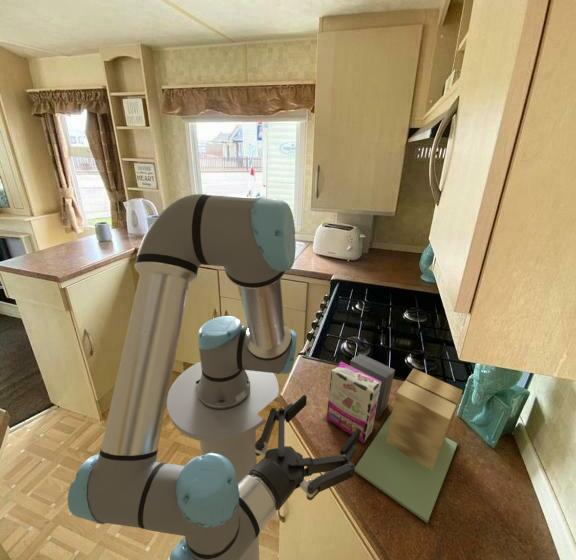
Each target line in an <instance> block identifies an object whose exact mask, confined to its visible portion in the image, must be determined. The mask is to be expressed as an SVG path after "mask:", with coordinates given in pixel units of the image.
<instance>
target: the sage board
mask: <svg viewBox="0 0 576 560" xmlns="http://www.w3.org/2000/svg"><path fill="white" fill-rule="evenodd" d="M392 412H393V410H392ZM392 412H391V413H390V415H388V416H387V419H386V420H385V422H384V423H383V425H382V426H381V428H380V429H379V430H378V432H377V434H376V435H375V436H374V439H373V440H372V441H371V443H370V444H369V446H368V447H367V449H366V450H365V451H364V453H363V455H362V456H361V458H360V459H359V460H358V462H357V464H355V470H354V473H356V474H357V475H359V476H360V477H362V478H363V479H365V480H366V481H367V482H369V483H370V484H372V486H374V487H376V488H377V489H378V490H379V491H381V492H383V493H384V494H385V495H387V496H388V497H390V498H391V499H392V500H394V501H395V502H396V503H398V504H399V505H401V506H402V507H403V508H405V509H406V510H408V511H409V512H410V513H412V514H414V515H415V516H416V517H417V518H418V519H420V520H422V521H423V522H424V523H426V524H428V523H429V520H430V517H431V515H432V511H433V510H434V507H435V505H436V501H437V499H438V496H439V494H440V492H441V488H442V486H443V483H444V481H445V478H446V475H447V473H448V470H449V467H450V465H451V462H452V460H453V457H454V455H455V451H456V450H457V446H458V442H455V441H454V440H452V439H450V438H448V437H447V438H446V440H445V443H444V445H443V448H442V450H441V452H440V454H439V457H438V459H437V462H436V464H435V466H434V469H433V471H431V470H430V469H428V468H426V467H425V466H423V465H422V464H420V463H418V462H417V461H415V460H414V459H412V458H410V457H409V456H407V455H405V454H404V453H402V452H401V451H399V450H397V449H396V448H394V447H393V446H391V445H389V444H388V443H386V438H387V433H388V429H389V425H390V420H391V416H392Z"/></svg>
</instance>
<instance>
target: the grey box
mask: <svg viewBox="0 0 576 560" xmlns="http://www.w3.org/2000/svg"><path fill="white" fill-rule="evenodd" d="M349 366H351V367H353V368H355V369H357V370H359V371H361V372H363V373H365V374H367V375H369V376H371V377H373V378H375V379H377V380H379V381H381V387H380V392H379V398H378V403H377V409H376V414H375V419H377V420H379V419H380V417H381V416H382V414H383V413H384V412H385V410H386V409H387V407H388V405H389V400H390V399H389V398H390V395H391V390H392V387H393V380H394V377H395V372H396V369H394V368H392V367H389V366H388V365H386V364H384V363H382V362H379V361H378V360H375V359H373V358H371V357H369V356H367V355H365V354H362V353H359V354H358V355H357V356H356V355H355V356H354V357H352V359H351V360H350V364H349Z"/></svg>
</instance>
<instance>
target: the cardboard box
mask: <svg viewBox="0 0 576 560" xmlns="http://www.w3.org/2000/svg"><path fill="white" fill-rule="evenodd" d="M463 391H464V390H463V389H460V388H458V387H456V386H454V385H452V384H449V383H447V382H445V381H443V380H441V379H439V378H436V377H434V376H432V375H429V374H427V373H425V372H423V371H421V370H418V369H416V368H412V370H411V371H410V373H409V374H408V376H407V378H406V379H405V380H404V381H403V382H402V385H401V386H400V387H399V389H398V390H397V391H396V395H395V399H394V403H393V408H392V411H393V412H391V413H392V416H391V420H390V425H389V429H388V433H387V438H386V443H388V444H389V445H391V446H393V447H394V448H396V449H397V450H399V451H401V452H402V453H404V454H405V455H407V456H409V457H410V458H412V459H414V460H415V461H417V462H418V463H420V464H422V465H423V466H425V467H426V468H428V469H430V470H431V471H433V469H434V466H435V464H436V462H437V459H438V457H439V454H440V452H441V450H442V448H443V445H444V443H445V440H446V438H448V435H449V431H450V430H451V427H452V423H453V420H454V418H455V415H456V412H457V409H458V406H459V404H460V400H461V397H462V395H463Z"/></svg>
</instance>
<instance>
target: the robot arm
mask: <svg viewBox="0 0 576 560" xmlns="http://www.w3.org/2000/svg"><path fill="white" fill-rule="evenodd" d="M296 245H297V242H296V225H295V220H294V215H293V212H292V208H291V207H290V205H289V203H287V202H286V201H284V200H283V199H280V198H273V197H267V196H263V195H261V196H256V197H249V196H231V195H213V194H205V193H198V194H190V195H186V196H184V197H181V198H178V199H177V200H175V201H174V202H172V203H170V204H169V205H168V206H167V207H166V208H164V209H163V210H162V211H161V212H160V213H159V215H158V216H157V217H156V218H155V219H154V221H153V222H151V224H150V226H149V227H148V229H147V231H146V232H145V234H144V236H143V238H142V240H141V242H140V245H139V247H138V250H137V254H136V257H135V262H134V270H136V272H137V274H138V275H139V277H138V281H137V286H136V290H135V295H134V299H133V303H132V308H131V313H130V318H129V321H128V327H127V331H126V335H125V340H124V344H123V349H122V353H121V357H120V360H119V361H120V362H119V365H118V371H117V374H116V378H115V379H116V380H115V385H114V389H113V393H112V397H111V401H110V406H109V410H108V415H107V420H106V424H105V427H104V434H103V437H102V442H101V446H100V450H99V453H98V454H95V455H92V456H90V457H89V458H87V459H86V460H85V461H84V462H83V463H82V464H81V465H80V466H79V468H78V470H77V471H76V473H75V478H74V480H73V481H72V482H71V483H70V485H69V489H68V493H67V507H68V511H69V512H70V514H72V515H73V516H74V517H76V518H78V519H79V518H80V519H83V520H86V521H90V522H94V523H96V524H100V525H104V524H110V525H116V526H124V527H131V528H138V529H141V530H146V531H149V532H157V533H162V534H167V535H175V536H183V537H182V538H181V539H180V540H179V541H178V543H177V544H176V546H175V547H174V548H173V550H172V551H171V552H170V555H169V560H239V559H240V558H241V557H242V555H243V554H244V553H245V552H246V550H247V549H248V548H249V547H250V545H251V544H252V543H253V541H254V540H255V539H256V538H257V536H258V535H260V534H261V533H262V532H263V531H264V529H265V528H266V526H267V525H268V524H269V523H270V522H271V520H273V518H274V517H275V515H277V514H276V513H277V511H279V510H280V509H281V508H282V507H283V506H284V504H285V503H286V502H287V501H288V499H289V498H290V497H291V495H292V494H293V493H294V491H295V490H297V489H299V488H300V489H301V490H302V491H303V492H304V493H305V494H306V499H307V500H308V501H312V500H314V499H315V497H316V496H317V495H319V493H322V492H323V491H325V490H327V489H330V488H332V487H334V486H336V485H338V484H341V483H343V482H345V481H347V480H349V479H352V478H353V477H354V475H355V471H354V470H355V467H356V464H355V463H354V462H351V461H352V459H353V458H354V456H355V455H356V453H357V443H358V442H359V441H360V440H359V437H360V431H361V430H360V429H359V428H357V429H356V430H355V432H354V433H353V434H352V435H350V437H349V438H348V440H347V441H346V442H345V444H344V445H343V446H342V447H341V449H340V453H339V454H335V455H328V456H323V457H316V458H311V457H303V454H301V453H300V452H298V451H296V450H295V449H294V448H293V447H292V446H291V445H289V446H287V445H285V442H286V441H285V439H286V438H285V424H286V423H290V422H291V421H292V420H293V419H294V418H295V417H296V416H297V415H298V414H299V413H300V412H301V411H302V410H303V409H304V408H305V407H306V406H307V399H308V396H307V395H305V394H303V395H302V396H301V397H299V399H298V400H297V401H296V402H294V403H289V404H287V406H285V407H284V408H282V407H280V408H279V409H278V410H277V409H276V408H275V407H273V408H271V409H270V411H269V414H268V415H267V418H266V422H265V423H264V424H265V425H264V427H263V430H262V433H261V436H260V437H259V438H258V440H256V443H255V454H256V455H257V457H259V456H262V457H263V458H262V459H261V460H260V461H259V462H257V465H256V466H255V467H254V468H253V469H252V470H251V471H250V472H249V475H246V476H245V477H244V478H243V479H242V480H241V481H240V482H239V483H237V480H236V474H235V470H234V467H233V465H232V464H231V462H230V461H229V460H228V459H227V458H226V457H224V456H222V455H220V454H216V453H207V454H206V455H197V456H195V457H193V458H191V459H190V460H189V461H188V462H187V463H186V464H185V465H181V464H174V463H167V462H160V461H157V458H158V451H159V444H160V438H161V434H162V428H163V424H164V419H165V412H166V408H167V397H168V393H169V390H170V387H171V381H172V375H173V371H174V365H175V360H176V354H177V349H178V345H179V338H180V333H181V328H182V322H183V317H184V312H185V308H186V307H185V306H186V302H187V296H188V291H189V285H190V283H192V282H194V281H195V280H196V279H197V277H198V271H199V267H200V266H201V265H203V266H215V267H223V269H224V272H225V274H226V277H227V278H228V280H229V281H230V282H231V283H233V284H234V285H236V286H237V290H238V293H239V297H240V302H241V305H242V309H243V313H244V317H245V322H246V325H247V326H246V325H243V324H242V320H241V319H239V318H237V317H236V316H233V315H231V316H230V315H224V316H218V317H214V318H212V319H210V320H207V321H206V322H205V323H203V325H202V326H201V327H200V328H199V330H198V332H197V347H198V352H199V362H201V368H202V374H201V379H200V380H198V381H196V384H198V383H199V384H198V398H199V400H200V402H201V403H202V404H203V405H204V406H206V407H207V408H210V409H213V410H228V409H231V408H234V407H236V406H238V405H240V404H241V403H242V402H244V401H245V400H246V398H247V397H248V395H249V393H250V380H249V377H248V375H247V373H246V371H245V370H250V371H259V372H268V373H274V374H276V375H282V374H283V375H288V374H290V373H292V371H293V367H294V363H295V357H296V351H297V343H298V332H297V331H296V330H293V329H290V328H289V326H288V325H287V323H286V322H285V320H284V308H283V294H282V293H283V292H282V280H281V279H282V278H283V276H284V275H285V273H286V272H287V271H290V270H291V269H292V268H293V266H294V264H295V260H296V250H297V249H296ZM276 421H277V422H278V432H277V433H278V435H277V436H278V439H277V447H275V448H270V449H269V441H270V439H271V436H272V433H273V429H274V427H275V423H276ZM285 422H286V423H285ZM305 467H306V468H305ZM320 473H323V474H321V475H318V476H317V477H315V478H310V479H309V480H306V479H305V478H306V477H311V476H312V475H314V474H320Z"/></svg>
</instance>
